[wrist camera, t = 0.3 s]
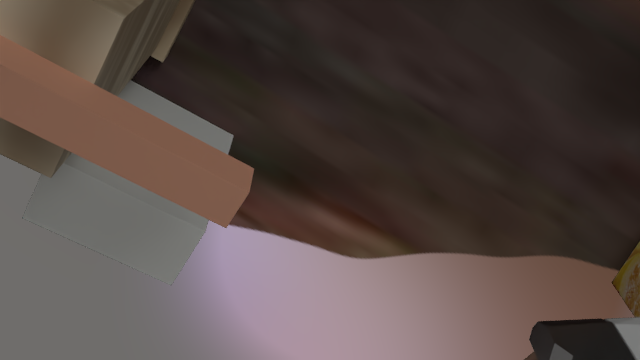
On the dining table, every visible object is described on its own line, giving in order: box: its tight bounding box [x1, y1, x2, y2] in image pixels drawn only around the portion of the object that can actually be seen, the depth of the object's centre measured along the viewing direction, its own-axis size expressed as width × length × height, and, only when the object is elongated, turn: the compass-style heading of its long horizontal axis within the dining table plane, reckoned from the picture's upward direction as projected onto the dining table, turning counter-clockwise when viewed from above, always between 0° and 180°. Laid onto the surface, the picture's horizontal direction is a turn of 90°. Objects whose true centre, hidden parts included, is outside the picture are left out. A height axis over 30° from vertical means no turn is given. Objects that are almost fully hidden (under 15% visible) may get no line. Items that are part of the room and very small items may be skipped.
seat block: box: [22, 80, 234, 285], centre depth 52 cm, size 12×6×17 cm, turn 58°
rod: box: [0, 35, 254, 228], centre depth 28 cm, size 25×2×2 cm, turn 58°
